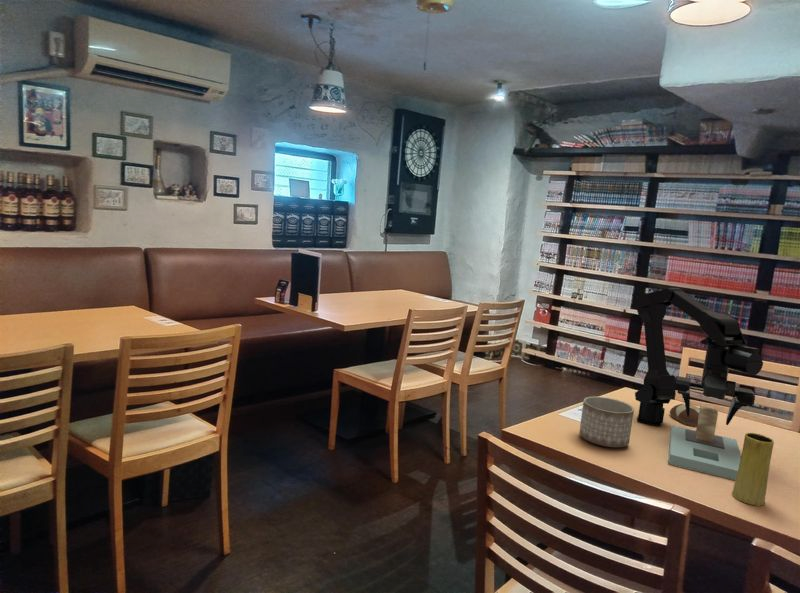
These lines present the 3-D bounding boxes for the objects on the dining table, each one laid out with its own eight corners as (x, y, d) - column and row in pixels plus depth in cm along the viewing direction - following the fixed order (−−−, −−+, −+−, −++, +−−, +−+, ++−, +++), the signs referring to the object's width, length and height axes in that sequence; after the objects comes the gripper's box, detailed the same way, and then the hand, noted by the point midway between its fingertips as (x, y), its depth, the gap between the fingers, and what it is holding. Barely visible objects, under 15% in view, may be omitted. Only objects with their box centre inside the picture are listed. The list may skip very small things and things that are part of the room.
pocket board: (668, 463, 134) (670, 453, 133) (670, 433, 155) (671, 424, 155) (743, 482, 127) (745, 471, 126) (734, 448, 148) (736, 438, 147)
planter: (576, 429, 153) (581, 393, 151) (623, 436, 150) (628, 400, 149) (581, 446, 140) (587, 408, 139) (633, 454, 138) (638, 415, 137)
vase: (765, 509, 115) (777, 445, 112) (731, 499, 118) (742, 437, 116) (763, 498, 120) (775, 437, 118) (731, 489, 123) (742, 429, 121)
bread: (687, 428, 161) (689, 412, 161) (663, 414, 172) (665, 399, 172) (720, 429, 163) (723, 413, 162) (694, 415, 174) (696, 400, 173)
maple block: (696, 438, 145) (700, 410, 144) (695, 433, 148) (700, 406, 147) (713, 442, 143) (718, 413, 142) (712, 437, 147) (717, 409, 145)
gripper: (677, 363, 140) (668, 420, 142) (762, 378, 131) (751, 439, 134) (677, 355, 150) (669, 409, 152) (756, 368, 141) (746, 425, 144)
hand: (707, 420), depth 145 cm, fingers open, 9 cm apart
